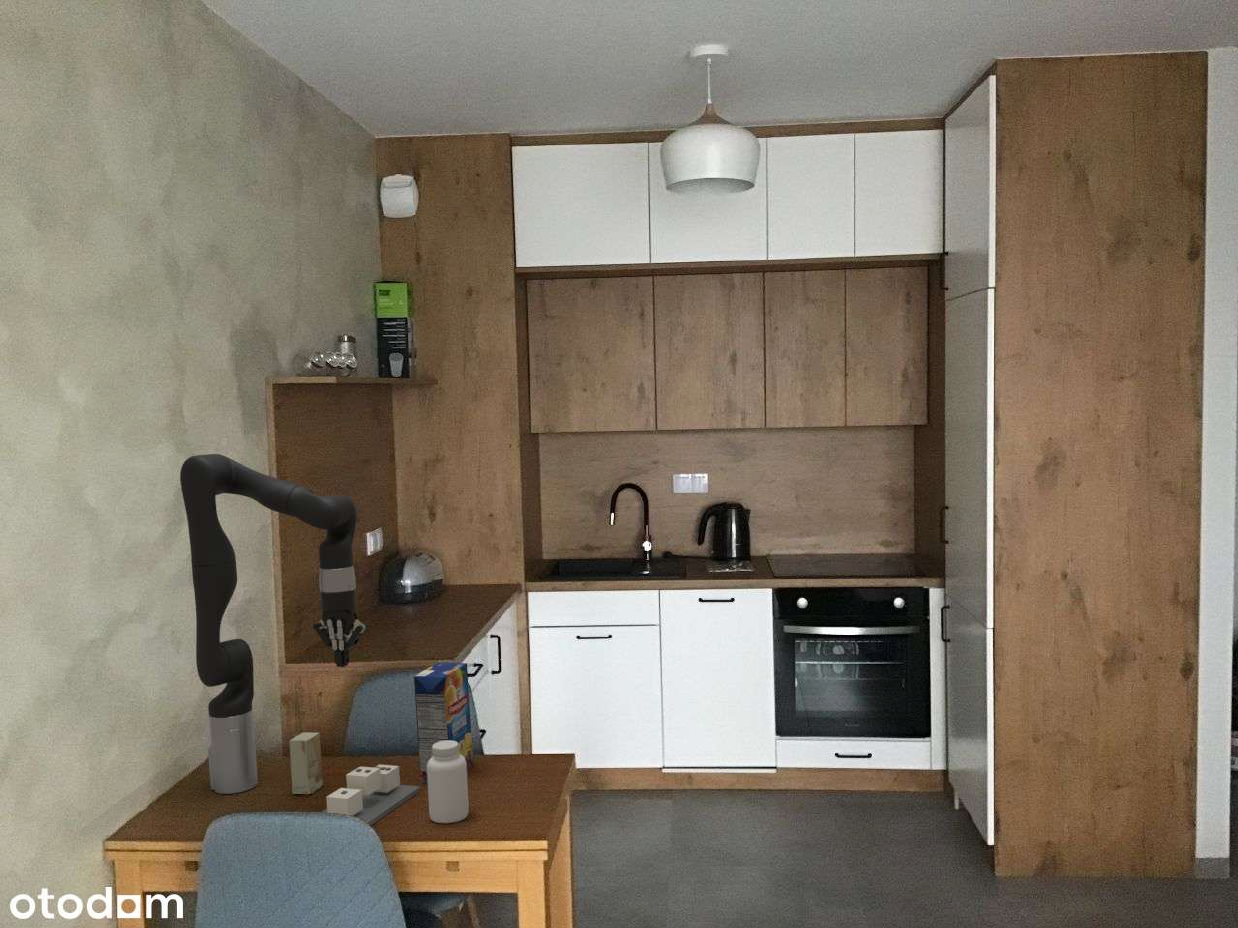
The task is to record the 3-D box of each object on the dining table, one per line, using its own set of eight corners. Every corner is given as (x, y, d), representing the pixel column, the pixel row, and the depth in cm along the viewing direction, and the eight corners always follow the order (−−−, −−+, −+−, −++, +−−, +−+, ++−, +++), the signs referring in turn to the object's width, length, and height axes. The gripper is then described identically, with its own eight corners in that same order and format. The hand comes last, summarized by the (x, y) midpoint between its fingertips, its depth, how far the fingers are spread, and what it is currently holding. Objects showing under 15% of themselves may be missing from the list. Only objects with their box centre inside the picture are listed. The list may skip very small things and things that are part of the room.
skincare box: (310, 795, 225) (306, 740, 225) (291, 795, 226) (288, 740, 226) (324, 785, 232) (320, 731, 231) (306, 784, 233) (302, 731, 232)
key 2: (347, 793, 215) (346, 773, 215) (361, 784, 220) (360, 764, 220) (367, 795, 213) (366, 775, 213) (381, 786, 218) (380, 766, 218)
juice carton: (444, 763, 242) (437, 662, 240) (473, 765, 240) (467, 663, 238) (420, 782, 230) (413, 676, 229) (451, 783, 228) (444, 676, 227)
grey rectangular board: (307, 825, 209) (306, 821, 209) (369, 786, 229) (368, 781, 229) (361, 831, 204) (361, 826, 204) (420, 790, 225) (419, 786, 225)
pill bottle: (451, 827, 204) (447, 752, 204) (421, 820, 209) (416, 747, 208) (477, 812, 211) (473, 740, 210) (447, 806, 215) (443, 735, 214)
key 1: (327, 816, 209) (326, 795, 208) (342, 806, 213) (341, 786, 213) (348, 818, 207) (347, 797, 207) (363, 808, 212) (361, 788, 211)
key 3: (367, 790, 222) (366, 770, 222) (380, 782, 226) (379, 762, 226) (387, 792, 220) (386, 772, 220) (400, 783, 225) (398, 764, 224)
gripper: (301, 589, 222) (306, 668, 224) (353, 591, 218) (358, 672, 219) (323, 583, 229) (327, 660, 231) (373, 585, 225) (378, 663, 226)
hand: (342, 666), depth 225 cm, fingers closed
